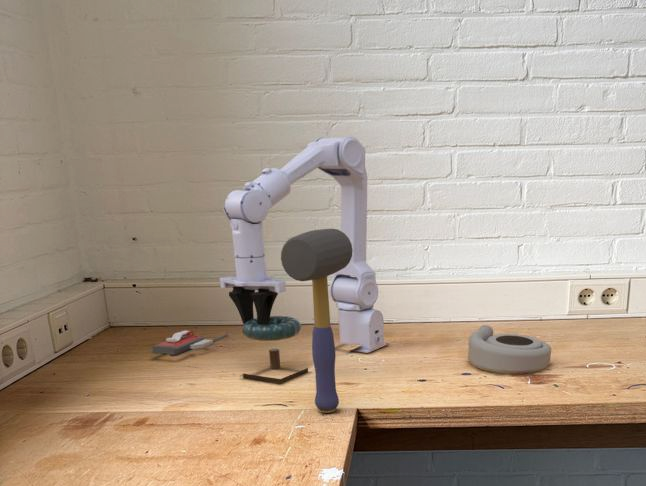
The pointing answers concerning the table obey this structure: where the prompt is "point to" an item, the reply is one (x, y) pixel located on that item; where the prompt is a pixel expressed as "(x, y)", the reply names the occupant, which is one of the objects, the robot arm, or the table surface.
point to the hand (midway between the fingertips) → (256, 326)
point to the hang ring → (272, 329)
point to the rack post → (275, 365)
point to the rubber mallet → (319, 298)
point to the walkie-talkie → (183, 343)
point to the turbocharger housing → (507, 352)
